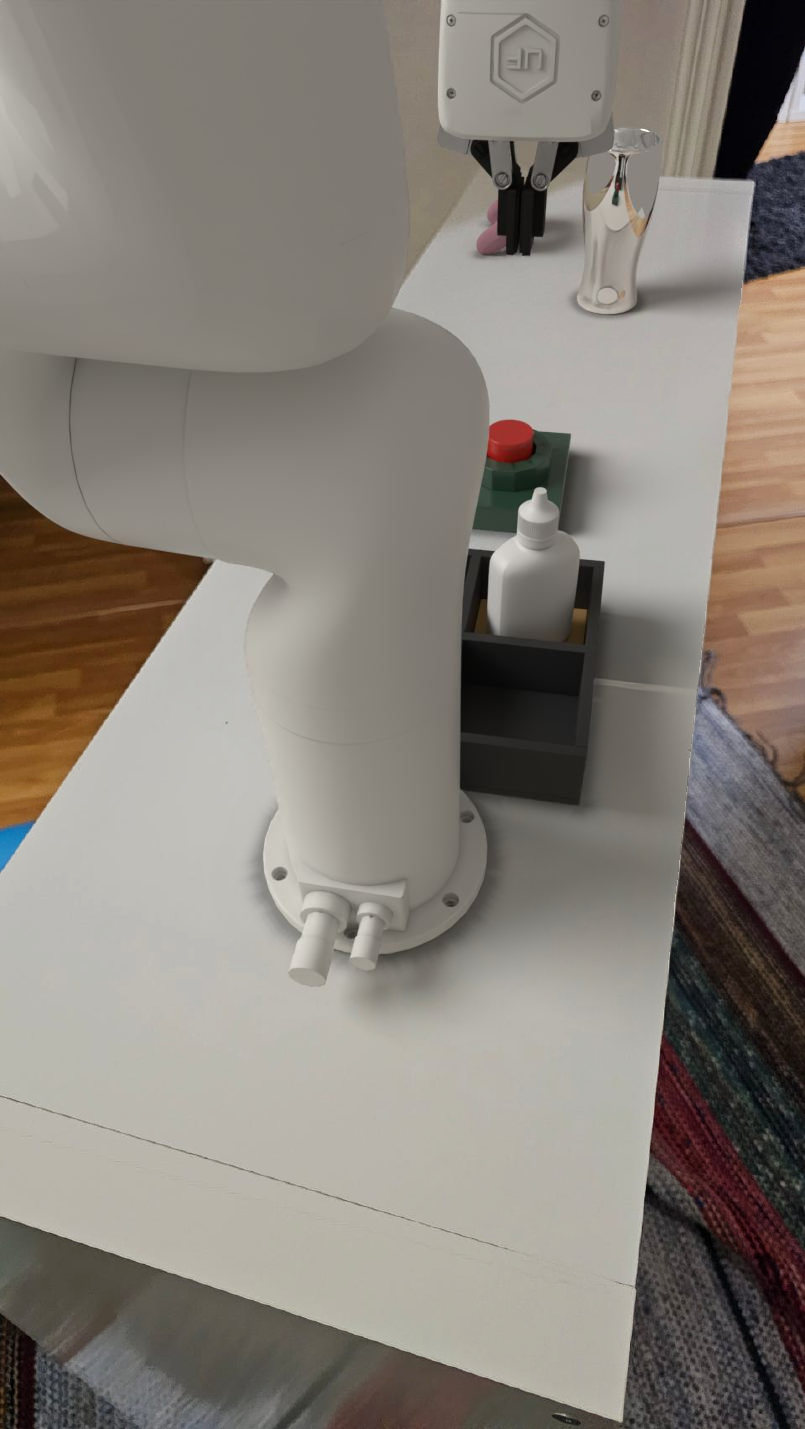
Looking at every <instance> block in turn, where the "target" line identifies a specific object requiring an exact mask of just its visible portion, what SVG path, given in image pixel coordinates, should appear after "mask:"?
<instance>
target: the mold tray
mask: <svg viewBox="0 0 805 1429" xmlns="http://www.w3.org/2000/svg"><path fill="white" fill-rule="evenodd" d="M495 551H496V550H489V549H477V548H468V555H467V562H466V569H465V579H464V590H463V602H462V628H461V710H460V789H461V790H462V791H466V792H474V793H482V794H489V795H498V796H503V797H512V798H519V799H527V800H533V801H534V800H535V801H540V802H542V801H543V802H548V803H549V802H550V803H556V804H564V805H569V806H570V805H571V806H579V805H580V802H581V796H582V790H583V784H584V777H585V771H586V766H587V759H588V751H589V741H590V731H591V730H590V729H591V717H592V708H593V696H594V688H595V687H594V686H595V676H596V662H597V653H598V642H599V631H600V620H601V611H602V610H601V609H602V598H603V589H604V588H603V587H604V578H605V568H606V567H605V566H606V565H605V564H606V561H605V560H595V559H584V558H580V560H579V570H578V579H577V587H576V595H575V603H574V611H573V619H572V627H571V632H570V634H569V636H568V638H567V639H566V640H565V641H564V642H554V641H545V640H535V639H526V638H517V637H508V636H498V635H489V634H486V632H487V605H488V582H489V565H490V559H491V557H492V555H493V553H494V552H495Z"/></svg>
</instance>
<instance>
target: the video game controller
mask: <svg viewBox="0 0 805 1429" xmlns="http://www.w3.org/2000/svg"><path fill="white" fill-rule="evenodd" d="M524 184H525V181H524ZM497 213H498V198H497V199H496V200H494V202H492V203H491V205H490V206H489V208H488V210H487V212H486V219H487V221H488V222H489V223H490V224H491V225H490V226H489V227H488V228H486V229H485V230H484V231H482V233H481V234H480V235H479V236H478V238H477V240H476V243H475V244H476V245H475V248H476V250H477V252H478V253H479V254H481V255H490V254H491V255H492V254H495V253H498V252H500V251H501V250H503V249H504V248H506V236H497Z"/></svg>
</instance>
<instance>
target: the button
mask: <svg viewBox="0 0 805 1429" xmlns="http://www.w3.org/2000/svg"><path fill="white" fill-rule="evenodd" d="M533 429H534V428H533V427H532V426H531V425H530V424H529V423H527V422H524V421H522V420H519V419H502V420H498V421H495V422H493V423H491V424H489V440H488V448H487V455H488V457H489V458H491V459H493V460H495V461H498V462H504V463H516V462H520V461H524V460H527V459H529V458H530V456H531V455H532V450H533V436H534V432H533Z"/></svg>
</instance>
